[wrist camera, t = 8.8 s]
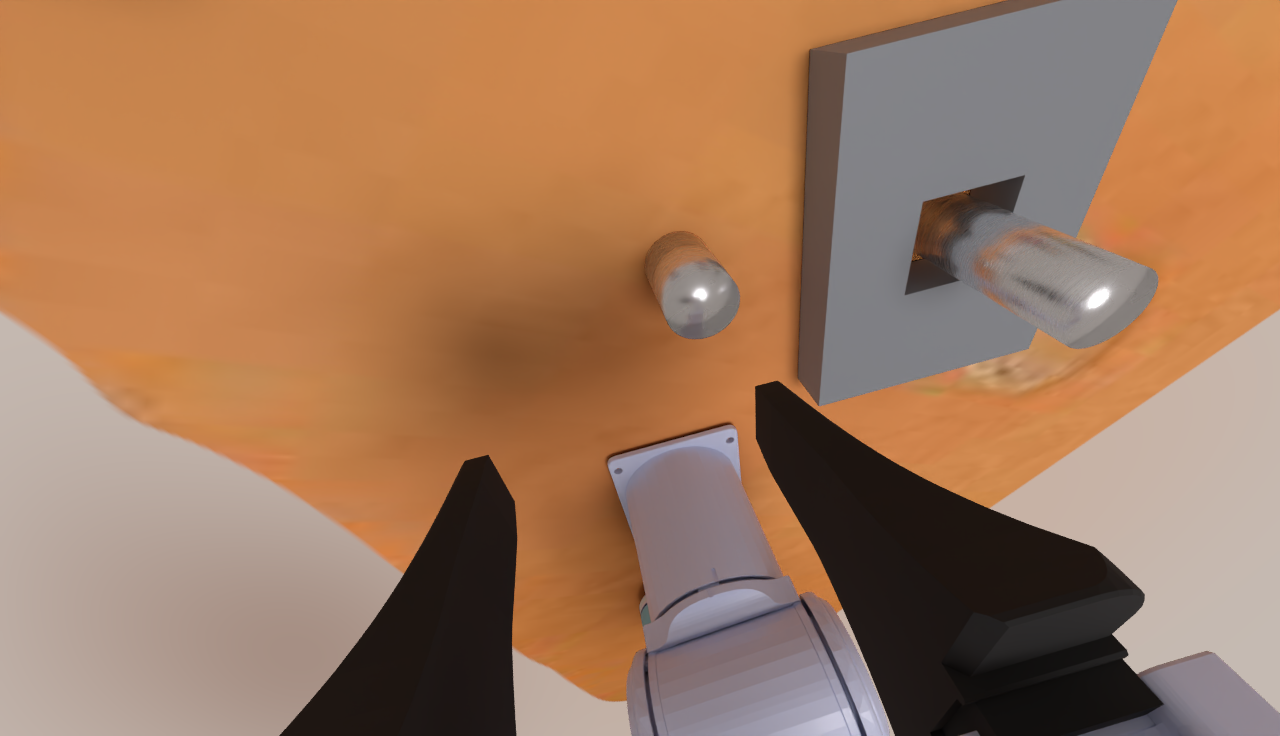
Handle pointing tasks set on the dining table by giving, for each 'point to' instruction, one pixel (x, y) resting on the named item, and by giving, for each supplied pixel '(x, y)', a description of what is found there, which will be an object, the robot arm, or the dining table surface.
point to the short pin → (691, 286)
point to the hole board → (950, 171)
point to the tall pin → (1034, 269)
